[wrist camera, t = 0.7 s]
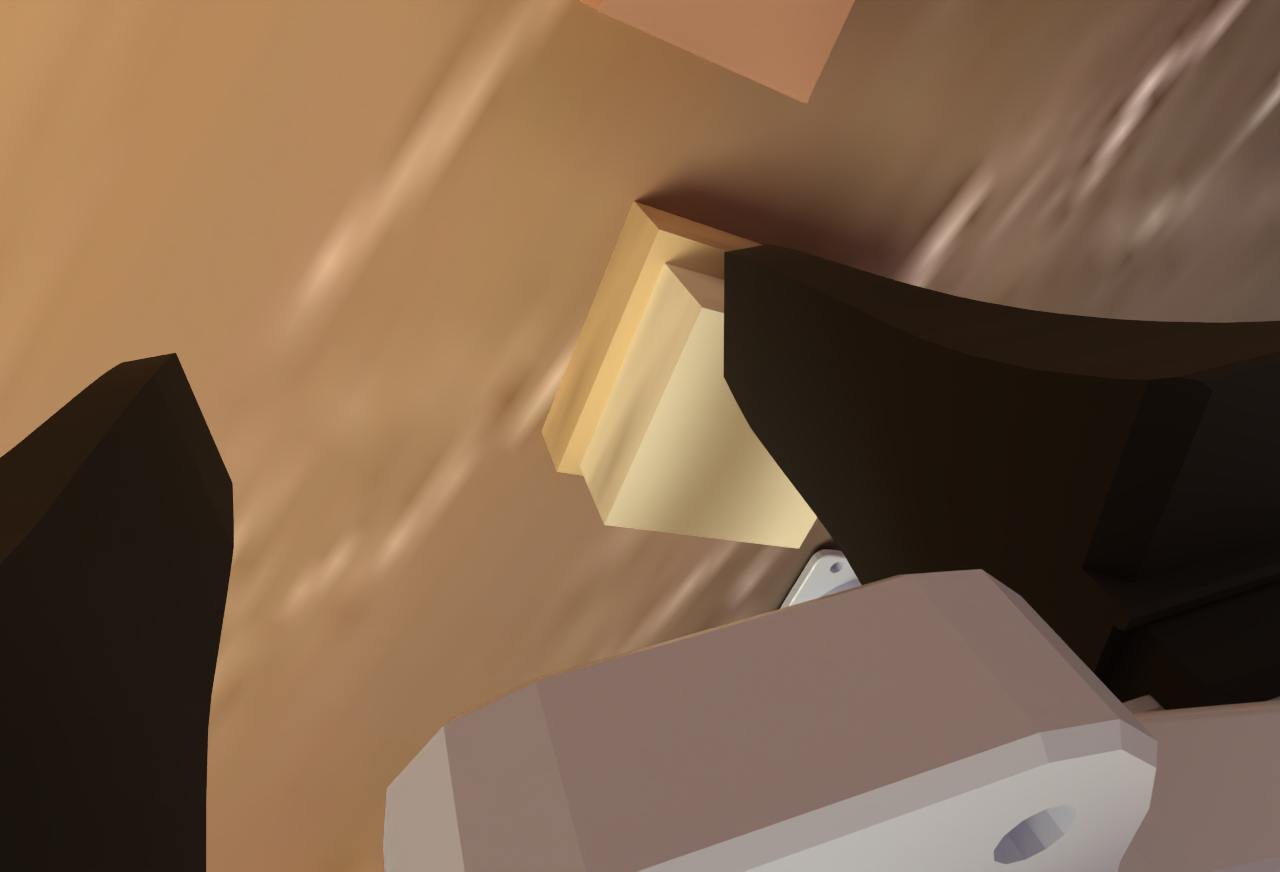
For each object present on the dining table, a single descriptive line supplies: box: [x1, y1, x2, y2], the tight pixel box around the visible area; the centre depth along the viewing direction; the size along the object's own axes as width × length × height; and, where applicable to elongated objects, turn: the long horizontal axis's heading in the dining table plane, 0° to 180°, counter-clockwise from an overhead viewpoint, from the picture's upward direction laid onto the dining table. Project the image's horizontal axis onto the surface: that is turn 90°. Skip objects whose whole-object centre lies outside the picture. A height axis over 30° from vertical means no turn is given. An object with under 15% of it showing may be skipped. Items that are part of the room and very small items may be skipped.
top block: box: [580, 263, 817, 549], centre depth 22 cm, size 6×6×2 cm
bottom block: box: [542, 201, 763, 476], centre depth 24 cm, size 7×7×2 cm
